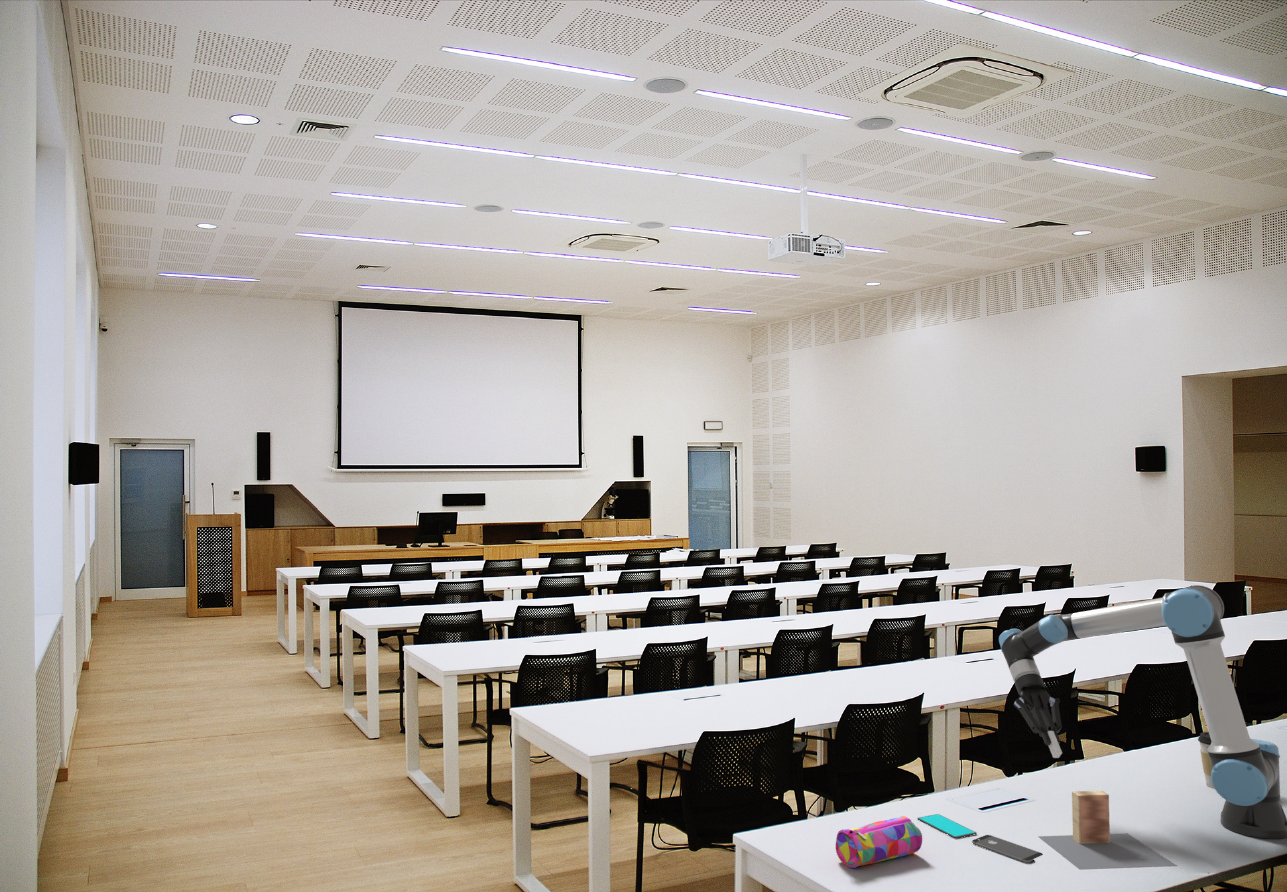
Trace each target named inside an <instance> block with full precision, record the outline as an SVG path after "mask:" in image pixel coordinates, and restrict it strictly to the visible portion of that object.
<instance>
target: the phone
mask: <svg viewBox="0 0 1287 892" xmlns="http://www.w3.org/2000/svg"><path fill="white" fill-rule="evenodd" d="M972 843H973V844H975V845H974V846H976V845H978V846H977V847H979V846H981V847H980V848H982V847H983V848H982V849H984V848H986V849H985V850H987V849H988V851H990V850H991V852H993V853H995V852H996V854H998V855H1002V856H1004V857H1007V858H1009V859H1012V860H1015V861H1017V862H1020V863H1022V864H1027V865H1028V864H1032V863H1035V862H1036V859H1037V858H1040V857H1041V856H1043V854H1044V853H1042V852H1040V851H1037V850H1034V849H1031V848H1028V847H1026V846H1023V845H1019V844H1018V843H1017V844H1016V843H1015V842H1012V841H1008V840H1006V839H1002V838H1000V837H996V836H994V835H991V834H985V835H983V836H979V837H978V838H975V839H972V841H971V844H972ZM973 844H972V845H973Z"/></svg>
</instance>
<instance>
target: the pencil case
mask: <svg viewBox="0 0 1287 892" xmlns="http://www.w3.org/2000/svg"><path fill="white" fill-rule="evenodd" d="M922 845H923V833H922V831H921V830H920V828H919V827H918V826H917V825H916V824H914V822H913V821H912V819H910V818H908V817H907V816H905V815H902V816H898V817H895V818H889V819H887V820H880V821H879V820H878V821H875V822H872V823H868V824H866V825H863V826H860V827H856V828H851V829H850V828H847V829H844V828H843V829H841V830H839V831H838V832H837V834H836V838H835V853H836V855H837V857H838V859H839V860H840V862H841V863H842V864H844V865H845V866H847V867H848V868H849V869H855V868H858V867H861V866H866V865H871V864H876V863H879V862H883V861H887V860H892V859H896V858H901V857H904V856H909V855H912V854H914V853H918V852H919V851H920V849H921V848H922Z"/></svg>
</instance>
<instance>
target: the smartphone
mask: <svg viewBox="0 0 1287 892" xmlns="http://www.w3.org/2000/svg"><path fill="white" fill-rule="evenodd" d="M917 820H918V821H919V820H920V821H919V822H921V823H924V824H925V825H927V824H928V825H927V826H929V827H932V828H933V829H935V830H937V831H939V832H941V833H943V834H944V833H945V835H946V834H948V835H949V837H950V836H951V838H952V839H954V838H958V839H961V838H962V837H963V838H965V837H967V836H968V837H971V836H970V835H973V834H978V832H977V831H974V830H972V829H970V828H968V827H966V826H964V825H962V824H960V823H958V822H956V821H954V820H952V819H950V818H948V817H945V816H944V815H941V814H940V813H936V814H929V815H924V816H921V817H917ZM948 835H947V836H948ZM964 836H965V837H964ZM973 836H974V835H973ZM963 838H962V839H963Z"/></svg>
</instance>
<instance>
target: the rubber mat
mask: <svg viewBox="0 0 1287 892" xmlns="http://www.w3.org/2000/svg"><path fill="white" fill-rule="evenodd" d="M1037 837H1038V838H1039V839H1041V841H1042V842H1044V843H1045V844H1046V845H1048V846H1049V847H1050V848H1052V849H1053V850H1054V851H1055V852H1057V853H1058V854H1059V855H1061V857H1063V858H1064V859H1066V860H1067V861H1068V862H1069V863H1070V864H1072V865H1073V866H1074V867H1076V868H1077V869H1079V870H1101V869H1103V870H1104V869H1105V870H1106V869H1124V868H1125V869H1131V868H1132V869H1133V868H1152V867H1153V868H1154V867H1155V868H1157V867H1158V868H1159V867H1160V868H1161V867H1178V864H1175V863H1174V862H1173V861H1171V860H1169V859H1168V858H1166V857H1165V856H1163V855H1161V854H1160V853H1159V852H1157V851H1156V850H1154V849H1152V848H1151V847H1149V846H1148V845H1146V844H1145V843H1143V842H1142V841H1140V840H1139V839H1137V838H1136V837H1134V836H1133V835H1131V834H1129V833H1126V832H1125V833H1110V843H1088V844H1079V843H1078V842H1076V841H1075V840H1073V834H1071V835H1070V834H1069V835H1067V834H1066V835H1065V834H1063V835H1043V836H1042V835H1040V836H1037Z"/></svg>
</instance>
